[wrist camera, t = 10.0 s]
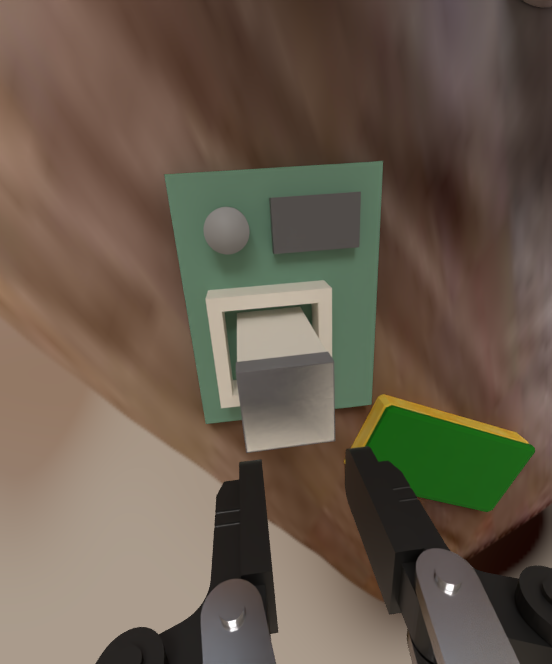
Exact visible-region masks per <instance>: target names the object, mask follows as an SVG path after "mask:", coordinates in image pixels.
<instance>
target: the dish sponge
mask: <svg viewBox="0 0 552 664" xmlns="http://www.w3.org/2000/svg"><path fill="white" fill-rule="evenodd" d="M365 446H369V447H370V448H371V449H372V451H373V453H374V455H375V457H376V458H377V460H378V462H381V461H389V462H391V463H392V464H393V465H394V466H395V467H397V468H398V469H399V470H400V471H401V472H402V473H403V475H404V476H405V478H406V480H407V481H408V483H409V485H410V488H412V490H413V491H414V493H415V495H416V496H417V497H421V498H426V499H430V500H435V501H439V502H444V503H448V504H453V505H457V506H462V507H466V508H471V509H476V510H480V511H485V512H488V511H491V510H493V508H494V507H495V506H496V504H497V503H498V502H499V500H500V499H501V497H502V496H503V495H504V493H505V492H506V491H507V489H508V488H509V487H510V485H511V484H512V482H513V481H514V480H515V478H516V477H517V476H518V474H519V473H520V472H521V470H522V469H523V468H524V466H525V465H526V463H527V462H528V461H529V459H530V458H531V457H532V455H533V454H534V453H535V448H534V447H533V446H532V445H530V444H529V443H528V442H527V441H526V440H525V439H524V438H522V437H521V436H520V435H519V434H518V433H516V432H513V431H509V430H506V429H502V428H499V427H495V426H492V425H488V424H485V423H481V422H478V421H475V420H471V419H468V418H464V417H461V416H457V415H454V414H450V413H447V412H443V411H440V410H437V409H433V408H430V407H426V406H423V405H419V404H416V403H412V402H409V401H405V400H402V399H399V398H395V397H392V396H388V395H385V394H383V395H381V396H379V397H378V398H377V400H376V401H375V403H374V405H373V407H372V409H371V411H370V413H369V415H368V416H367V418H366V420H365V422H364V424H363V426H362V428H361V430H360V432H359V433H358V435H357V437H356V439H355V441H354V443H353V445H352V447H351V448H357V447H365ZM344 463H345V460H344Z"/></svg>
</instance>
